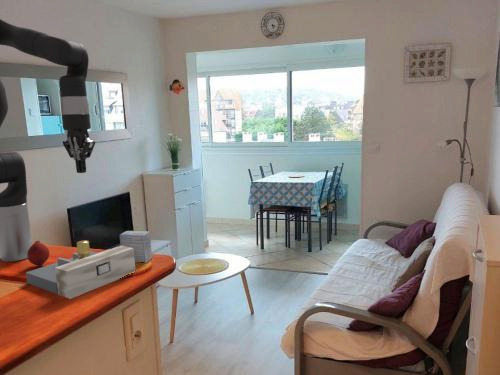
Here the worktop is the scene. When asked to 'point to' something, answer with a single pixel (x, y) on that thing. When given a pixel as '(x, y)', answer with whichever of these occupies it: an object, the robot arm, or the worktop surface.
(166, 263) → the worktop surface
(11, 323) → the worktop surface
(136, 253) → the medicine box
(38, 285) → the door leaf
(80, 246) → the bolt
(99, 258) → the block
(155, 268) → the worktop surface
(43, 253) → the onion
